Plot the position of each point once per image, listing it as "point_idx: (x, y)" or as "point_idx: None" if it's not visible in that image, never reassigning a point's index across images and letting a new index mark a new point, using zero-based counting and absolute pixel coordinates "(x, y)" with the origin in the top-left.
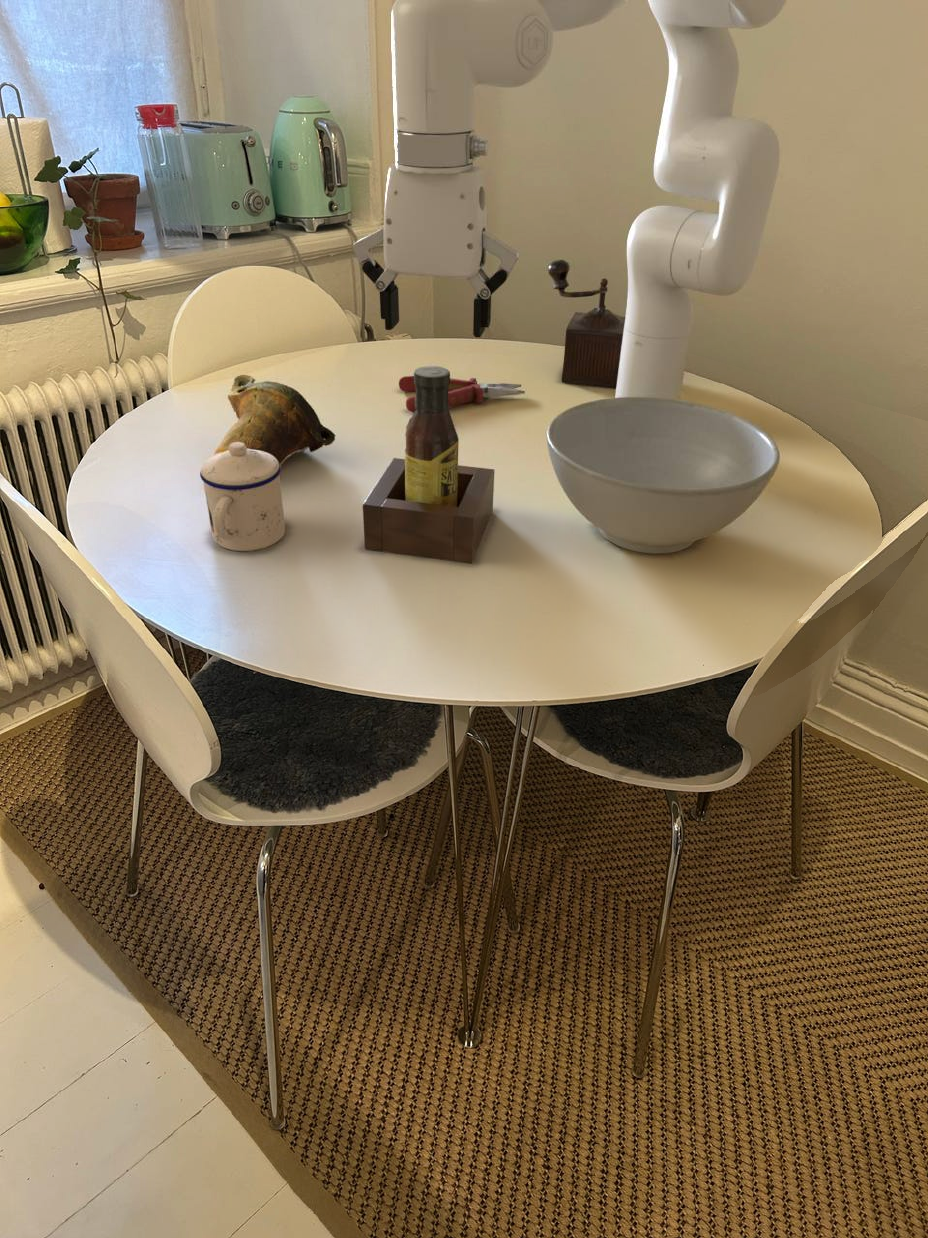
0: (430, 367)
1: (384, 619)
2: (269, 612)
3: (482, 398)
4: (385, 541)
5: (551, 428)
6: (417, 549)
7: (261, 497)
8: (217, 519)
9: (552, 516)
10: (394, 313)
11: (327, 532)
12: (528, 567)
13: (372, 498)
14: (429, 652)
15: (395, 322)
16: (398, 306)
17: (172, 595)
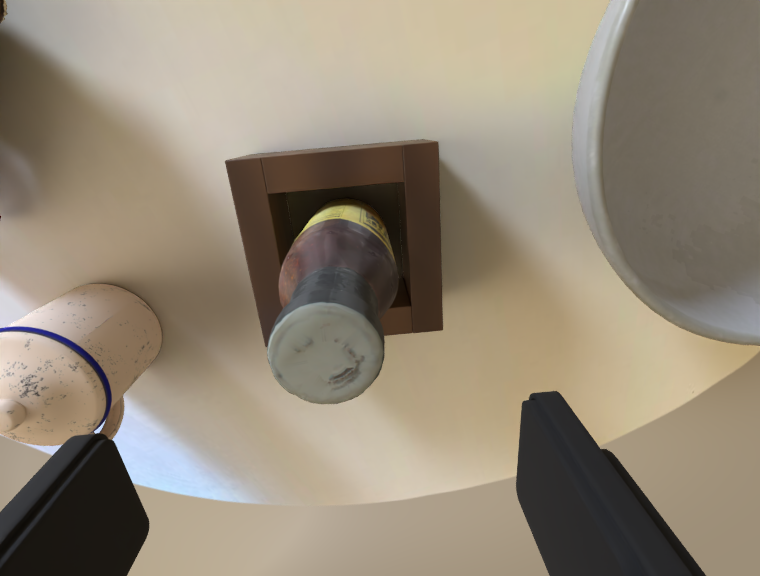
0: (307, 328)
1: (367, 425)
2: (248, 450)
3: None
4: None
5: (602, 131)
6: None
7: (117, 398)
8: None
9: (524, 117)
10: (99, 548)
11: (207, 287)
12: (503, 281)
13: (270, 325)
14: (428, 453)
15: (124, 495)
16: (58, 505)
17: (133, 457)
